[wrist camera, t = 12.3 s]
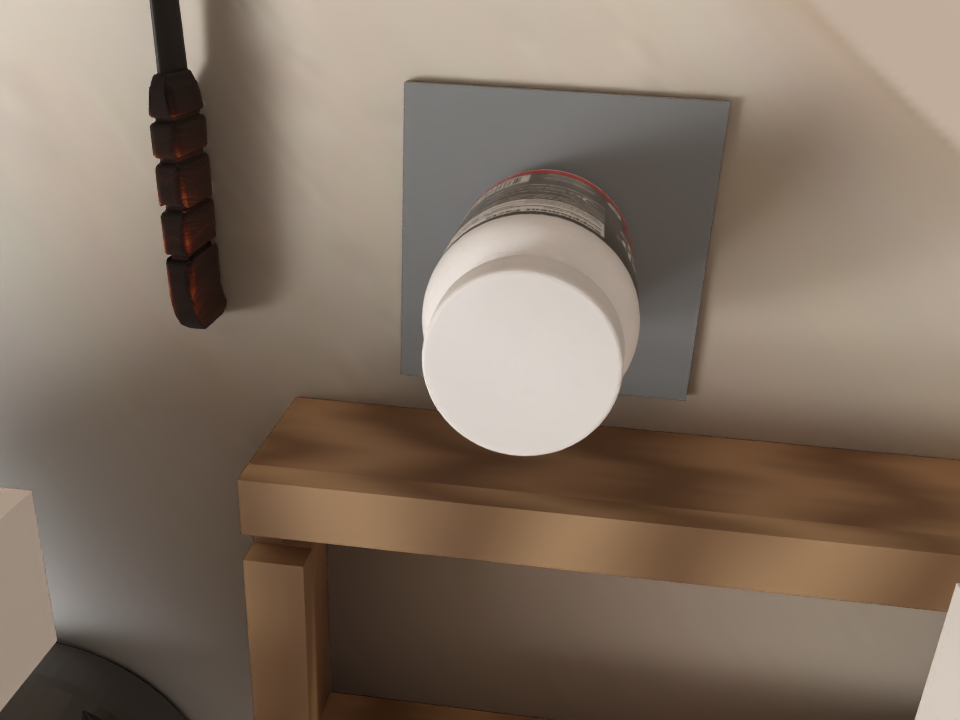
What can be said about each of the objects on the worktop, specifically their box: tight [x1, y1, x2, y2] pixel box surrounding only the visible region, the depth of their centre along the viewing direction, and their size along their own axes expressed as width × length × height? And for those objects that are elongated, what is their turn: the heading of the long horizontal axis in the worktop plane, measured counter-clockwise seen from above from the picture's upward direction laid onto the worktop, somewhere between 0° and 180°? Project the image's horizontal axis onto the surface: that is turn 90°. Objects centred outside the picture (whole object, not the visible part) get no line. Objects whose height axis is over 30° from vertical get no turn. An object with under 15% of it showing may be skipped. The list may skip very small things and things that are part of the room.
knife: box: [149, 0, 227, 329], centre depth 28 cm, size 17×1×3 cm, turn 179°
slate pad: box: [401, 81, 731, 401], centre depth 30 cm, size 10×10×1 cm
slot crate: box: [237, 397, 960, 720], centre depth 33 cm, size 26×15×6 cm, turn 87°
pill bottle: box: [422, 169, 640, 456], centre depth 25 cm, size 6×6×10 cm
